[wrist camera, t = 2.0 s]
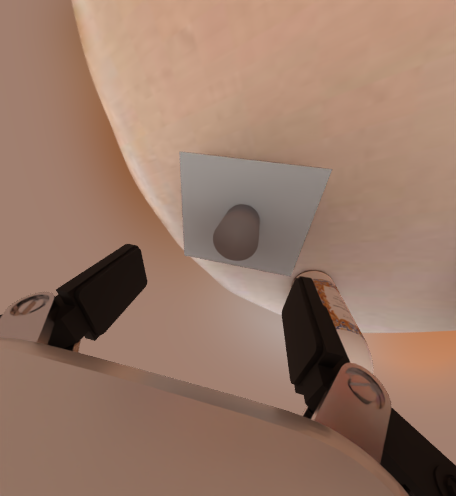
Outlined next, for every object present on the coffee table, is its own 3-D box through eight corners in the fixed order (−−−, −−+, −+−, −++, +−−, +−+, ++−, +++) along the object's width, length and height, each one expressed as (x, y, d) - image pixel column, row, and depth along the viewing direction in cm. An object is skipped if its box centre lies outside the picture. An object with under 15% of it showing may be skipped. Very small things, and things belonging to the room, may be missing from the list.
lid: (328, 168, 15) (360, 175, 10) (289, 271, 21) (297, 307, 16) (183, 151, 17) (148, 149, 12) (187, 251, 23) (165, 278, 18)
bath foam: (341, 282, 29) (455, 468, 12) (313, 303, 32) (366, 469, 15) (309, 262, 28) (379, 429, 11) (284, 286, 32) (305, 439, 15)
